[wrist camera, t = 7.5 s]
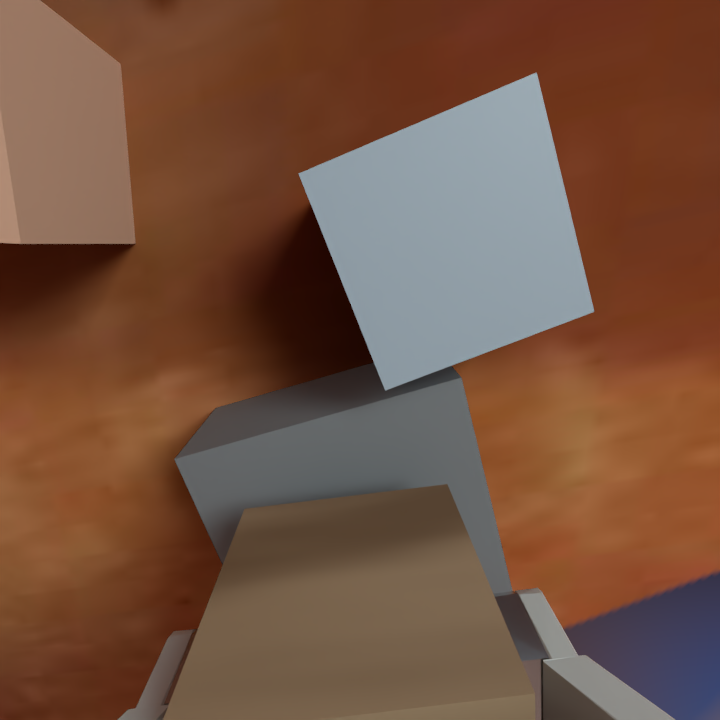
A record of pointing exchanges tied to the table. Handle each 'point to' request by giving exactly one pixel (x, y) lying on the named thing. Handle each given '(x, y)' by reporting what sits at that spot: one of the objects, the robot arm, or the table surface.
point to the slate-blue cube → (453, 234)
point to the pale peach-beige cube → (60, 134)
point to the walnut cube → (353, 619)
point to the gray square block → (342, 452)
